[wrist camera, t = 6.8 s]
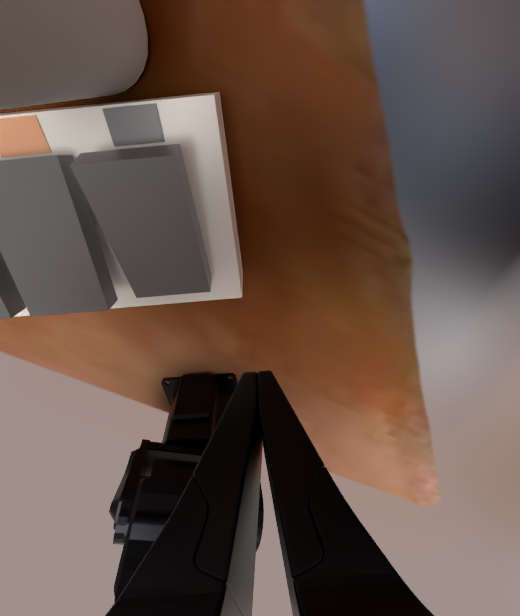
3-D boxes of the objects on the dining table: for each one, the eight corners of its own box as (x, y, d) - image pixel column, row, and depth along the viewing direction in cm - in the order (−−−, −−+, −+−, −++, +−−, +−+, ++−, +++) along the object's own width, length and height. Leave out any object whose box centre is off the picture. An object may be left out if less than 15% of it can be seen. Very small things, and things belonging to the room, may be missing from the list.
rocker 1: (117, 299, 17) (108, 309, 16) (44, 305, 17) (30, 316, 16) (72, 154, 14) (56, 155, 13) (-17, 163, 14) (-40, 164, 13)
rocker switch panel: (242, 272, 21) (242, 299, 18) (-5, 293, 21) (-40, 322, 19) (219, 91, 15) (213, 94, 13) (-123, 125, 16) (-196, 135, 13)
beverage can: (34, 65, 14) (-407, 42, 5) (34, -85, 12) (-959, -837, 2) (142, 113, 16) (-33, 171, 6) (163, -14, 13) (-88, -282, 3)
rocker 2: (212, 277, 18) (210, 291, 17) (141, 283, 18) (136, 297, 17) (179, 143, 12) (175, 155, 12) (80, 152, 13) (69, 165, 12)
